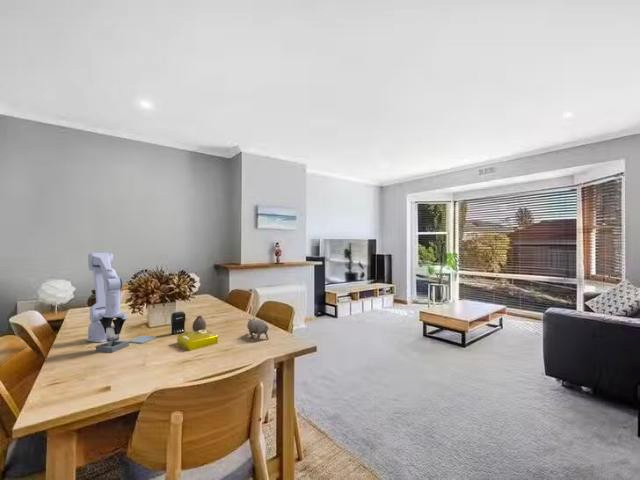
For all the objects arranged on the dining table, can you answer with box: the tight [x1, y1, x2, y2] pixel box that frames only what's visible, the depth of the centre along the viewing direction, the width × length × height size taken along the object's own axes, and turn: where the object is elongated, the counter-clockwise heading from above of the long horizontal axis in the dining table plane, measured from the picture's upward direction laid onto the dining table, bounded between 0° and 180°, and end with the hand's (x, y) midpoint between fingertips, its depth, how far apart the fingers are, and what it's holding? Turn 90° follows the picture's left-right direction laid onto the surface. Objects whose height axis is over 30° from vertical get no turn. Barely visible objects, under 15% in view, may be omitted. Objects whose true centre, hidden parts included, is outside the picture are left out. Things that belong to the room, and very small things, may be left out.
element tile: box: [176, 329, 219, 351], centre depth 149 cm, size 15×15×5 cm
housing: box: [95, 340, 130, 353], centre depth 141 cm, size 9×9×2 cm
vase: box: [192, 315, 207, 332], centre depth 166 cm, size 7×7×9 cm
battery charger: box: [170, 310, 187, 335], centre depth 165 cm, size 7×4×11 cm, turn 132°
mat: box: [128, 335, 158, 345], centre depth 153 cm, size 9×9×1 cm
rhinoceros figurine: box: [246, 318, 269, 340], centre depth 158 cm, size 8×14×15 cm
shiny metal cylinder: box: [105, 325, 120, 343], centre depth 141 cm, size 5×5×6 cm
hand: (112, 333), depth 141 cm, fingers closed on shiny metal cylinder, 5 cm apart
